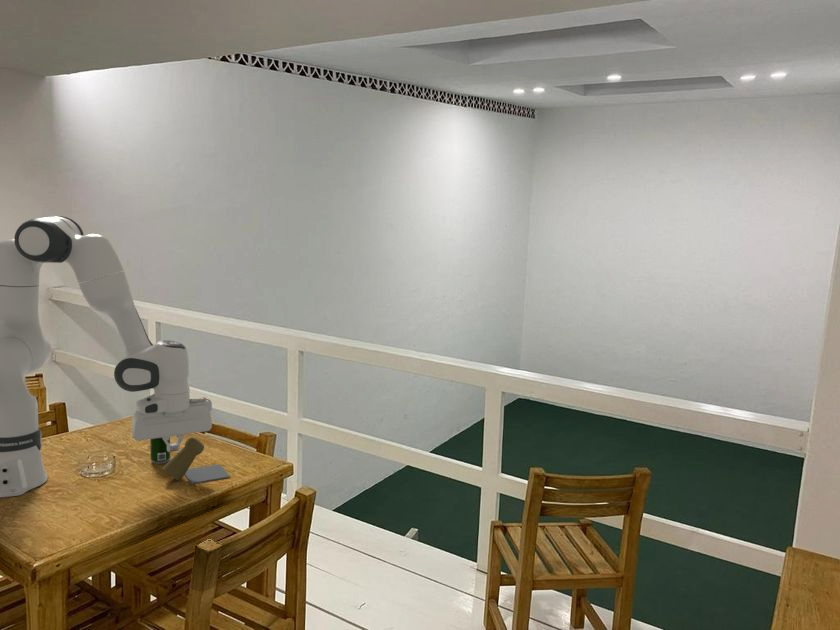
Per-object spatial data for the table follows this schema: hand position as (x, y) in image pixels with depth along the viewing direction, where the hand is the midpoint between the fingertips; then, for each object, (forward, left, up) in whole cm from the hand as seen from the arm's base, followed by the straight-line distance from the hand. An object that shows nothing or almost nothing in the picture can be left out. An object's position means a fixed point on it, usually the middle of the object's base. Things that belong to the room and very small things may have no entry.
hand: (173, 450), depth 180 cm
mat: (+9, 0, -8) cm, 12 cm away
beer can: (0, +16, -9) cm, 18 cm away
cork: (-1, 0, -7) cm, 7 cm away
